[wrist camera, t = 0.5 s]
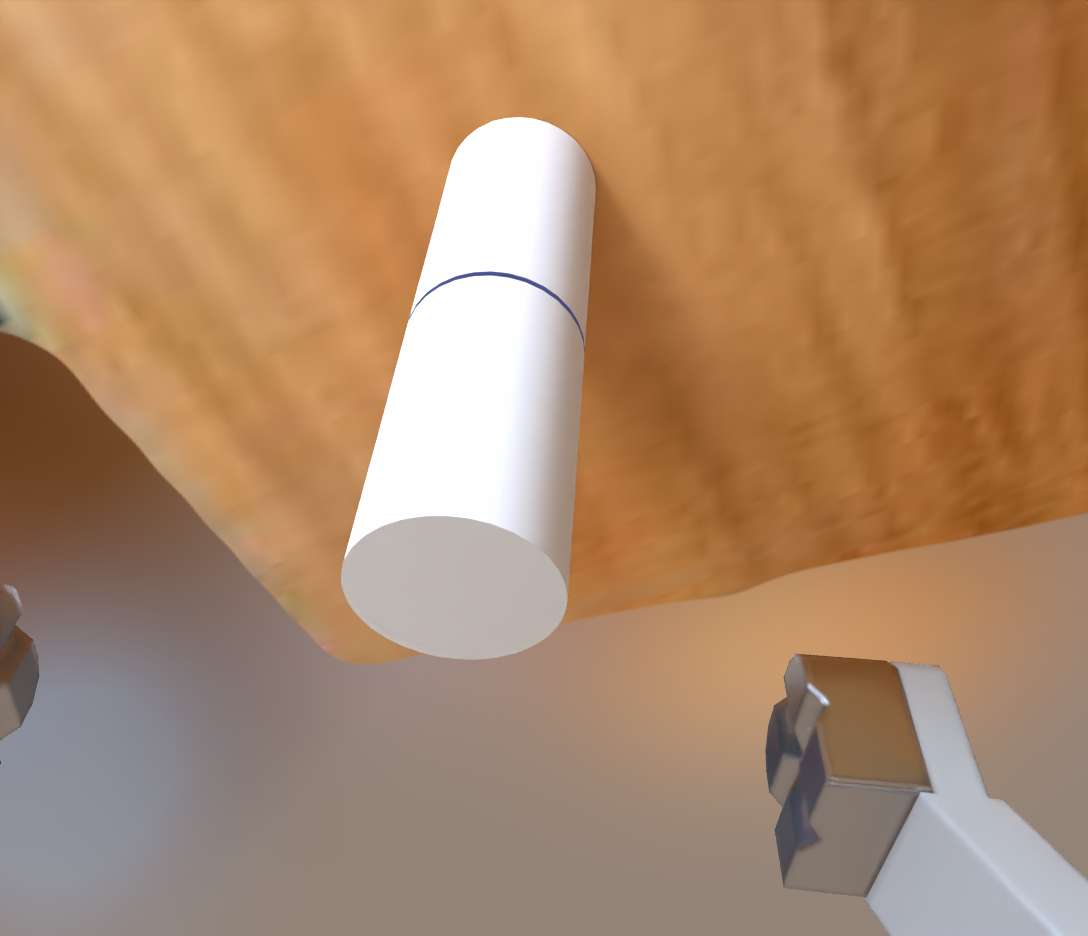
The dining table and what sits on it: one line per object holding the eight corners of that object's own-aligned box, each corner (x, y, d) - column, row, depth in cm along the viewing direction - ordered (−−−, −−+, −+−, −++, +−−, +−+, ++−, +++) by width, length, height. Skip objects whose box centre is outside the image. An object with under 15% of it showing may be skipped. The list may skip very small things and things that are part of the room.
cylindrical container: (597, 119, 48) (568, 521, 30) (593, 252, 53) (567, 664, 35) (443, 115, 48) (324, 510, 30) (454, 248, 53) (356, 653, 35)
